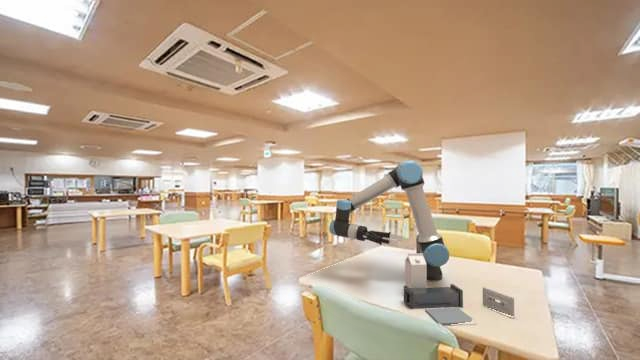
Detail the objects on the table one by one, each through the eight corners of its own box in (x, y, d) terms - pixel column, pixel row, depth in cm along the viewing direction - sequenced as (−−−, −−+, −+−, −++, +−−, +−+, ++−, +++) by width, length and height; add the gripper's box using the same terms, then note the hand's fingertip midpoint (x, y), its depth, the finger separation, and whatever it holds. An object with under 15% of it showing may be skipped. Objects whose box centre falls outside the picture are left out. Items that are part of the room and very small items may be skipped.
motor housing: (453, 300, 118) (452, 284, 118) (462, 307, 111) (462, 290, 111) (402, 301, 116) (402, 285, 116) (409, 309, 109) (409, 292, 109)
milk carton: (405, 291, 126) (405, 251, 127) (419, 291, 127) (419, 251, 127) (411, 298, 119) (411, 255, 120) (426, 298, 120) (426, 255, 120)
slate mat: (458, 309, 108) (458, 307, 108) (476, 324, 98) (476, 321, 98) (425, 311, 107) (425, 309, 107) (439, 325, 96) (439, 323, 96)
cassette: (481, 305, 112) (481, 287, 112) (484, 305, 113) (484, 286, 113) (512, 319, 101) (512, 298, 102) (515, 318, 102) (515, 297, 102)
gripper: (365, 236, 149) (404, 244, 139) (348, 243, 127) (393, 253, 117) (366, 223, 149) (405, 230, 139) (349, 227, 127) (394, 236, 117)
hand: (400, 241), depth 128 cm, fingers open, 13 cm apart
